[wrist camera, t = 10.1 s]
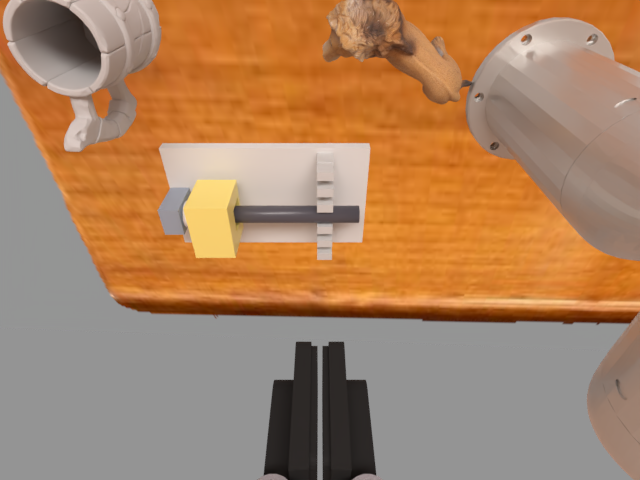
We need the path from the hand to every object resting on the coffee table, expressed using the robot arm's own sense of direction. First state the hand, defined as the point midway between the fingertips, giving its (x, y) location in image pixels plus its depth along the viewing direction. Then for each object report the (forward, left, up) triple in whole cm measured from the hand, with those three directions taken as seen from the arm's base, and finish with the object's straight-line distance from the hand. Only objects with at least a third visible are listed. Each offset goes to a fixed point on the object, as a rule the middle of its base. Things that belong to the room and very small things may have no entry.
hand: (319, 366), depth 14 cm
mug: (+17, -4, -29) cm, 34 cm away
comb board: (+6, +11, -29) cm, 32 cm away
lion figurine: (-7, -4, -29) cm, 30 cm away
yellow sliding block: (+11, +11, -27) cm, 31 cm away
